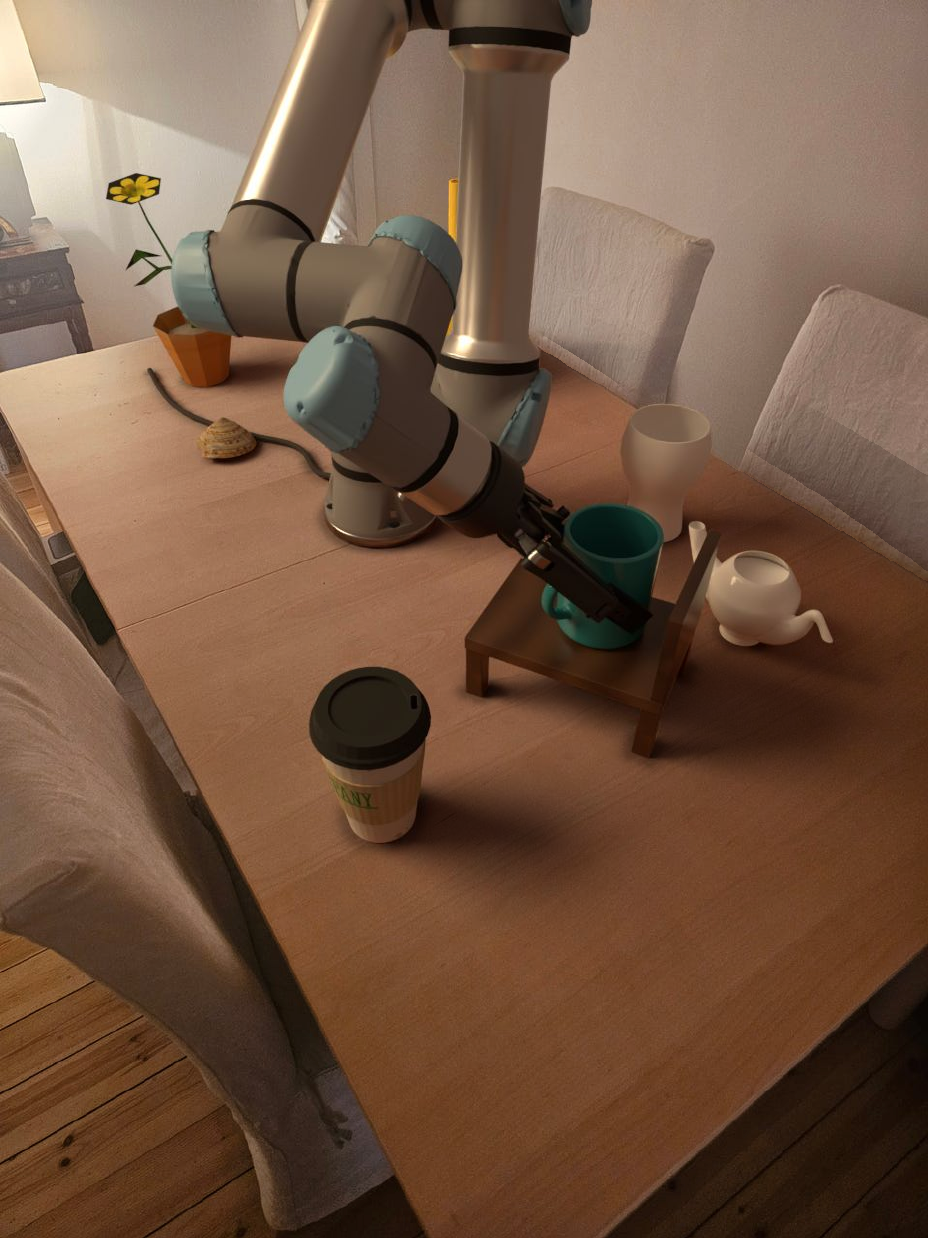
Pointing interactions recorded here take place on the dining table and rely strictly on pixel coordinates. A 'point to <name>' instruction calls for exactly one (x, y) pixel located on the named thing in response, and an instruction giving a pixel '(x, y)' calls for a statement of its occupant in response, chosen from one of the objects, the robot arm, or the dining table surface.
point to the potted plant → (188, 346)
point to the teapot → (756, 597)
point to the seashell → (225, 440)
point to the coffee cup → (373, 748)
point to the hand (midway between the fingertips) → (618, 590)
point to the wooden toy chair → (620, 674)
